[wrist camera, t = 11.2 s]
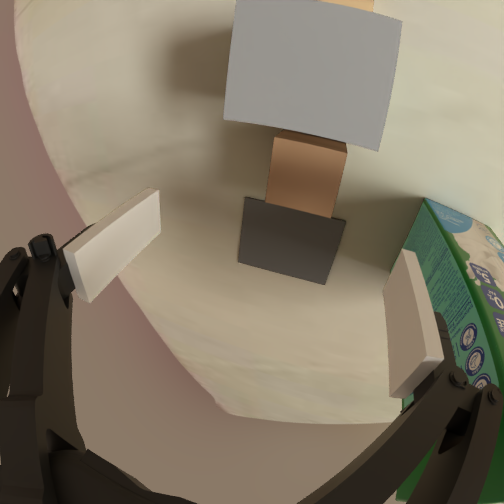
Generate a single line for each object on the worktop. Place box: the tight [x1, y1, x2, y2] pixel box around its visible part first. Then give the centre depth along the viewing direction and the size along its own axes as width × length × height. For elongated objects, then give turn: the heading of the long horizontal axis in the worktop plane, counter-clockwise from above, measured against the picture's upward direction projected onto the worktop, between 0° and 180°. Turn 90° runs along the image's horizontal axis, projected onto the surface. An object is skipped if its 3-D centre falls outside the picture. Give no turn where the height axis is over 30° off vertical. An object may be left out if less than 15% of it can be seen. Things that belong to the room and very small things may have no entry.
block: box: [265, 129, 347, 218], centre depth 21 cm, size 5×5×6 cm
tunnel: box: [223, 0, 402, 152], centre depth 16 cm, size 8×9×9 cm
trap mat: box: [238, 197, 346, 285], centre depth 29 cm, size 8×10×1 cm
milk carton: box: [390, 198, 504, 504], centre depth 14 cm, size 9×9×25 cm
